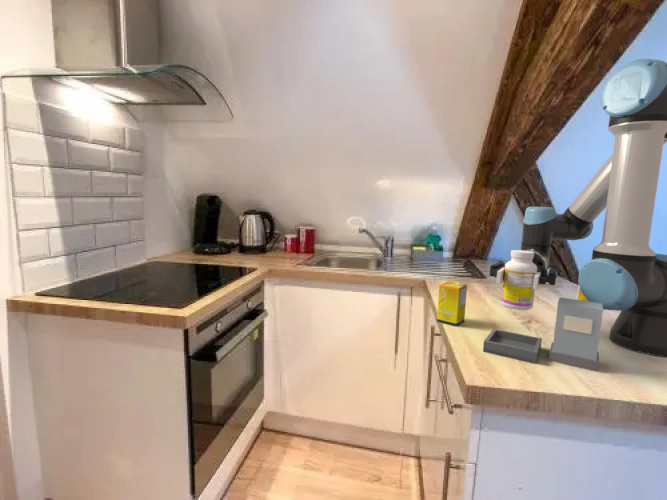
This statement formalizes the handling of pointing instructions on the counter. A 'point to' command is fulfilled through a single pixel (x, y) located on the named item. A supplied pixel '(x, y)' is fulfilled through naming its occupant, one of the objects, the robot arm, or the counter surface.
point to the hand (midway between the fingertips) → (516, 280)
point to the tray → (513, 345)
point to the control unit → (577, 333)
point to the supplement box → (451, 303)
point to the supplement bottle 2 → (580, 295)
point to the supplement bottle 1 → (519, 281)
